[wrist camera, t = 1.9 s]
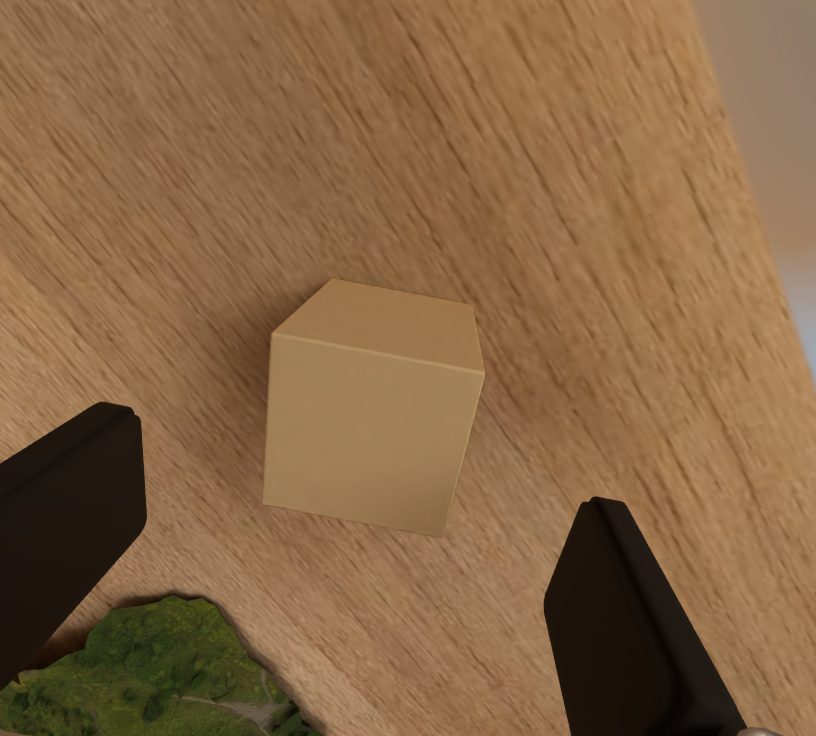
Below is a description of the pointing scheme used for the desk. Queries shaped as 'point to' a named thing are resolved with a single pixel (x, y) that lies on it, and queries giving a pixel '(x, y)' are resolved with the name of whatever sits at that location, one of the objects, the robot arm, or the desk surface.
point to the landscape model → (153, 681)
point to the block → (371, 406)
